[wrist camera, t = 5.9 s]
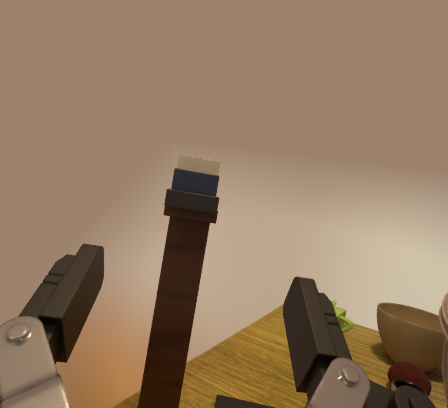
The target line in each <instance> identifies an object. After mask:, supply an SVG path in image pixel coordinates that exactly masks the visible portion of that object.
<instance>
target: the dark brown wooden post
mask: <svg viewBox="0 0 448 408" xmlns="http://www.w3.org/2000/svg"><path fill="white" fill-rule="evenodd" d="M217 214H218V211H217ZM217 214H212V213H206V212H200V211H194V210H188V209H182V208H176V207H170V206H165V209H164V215H166V216H170V220H169V225H168V232H167V237H166V243H165V249H164V256H163V262H162V267H161V273H160V279H159V285H158V291H157V297H156V303H155V309H154V315H153V320H152V326H151V333H150V338H149V344H148V350H147V356H146V362H145V369H144V374H143V380H142V386H141V392H140V398H139V403H138V406H137V408H178V407H179V401H180V395H181V390H182V384H183V378H184V372H185V366H186V360H187V354H188V349H189V343H190V337H191V331H192V325H193V319H194V313H195V307H196V302H197V296H198V290H199V284H200V278H201V272H202V266H203V260H204V255H205V249H206V243H207V236H208V231H209V225H210V223H216V219H217Z"/></svg>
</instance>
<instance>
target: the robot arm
mask: <svg viewBox="0 0 448 408" xmlns="http://www.w3.org/2000/svg"><path fill="white" fill-rule="evenodd" d="M103 278H104V248H103V247H102V246H96V245H89V244H83V245H82V246H81V247H80V249H79V251H78V252H77V254H76V255H75V256H74V255H68V254H67V255H65V256H64V257H63V258H61V259H60V260H58V261H57V262H55V264H54V266H53V267H52V268H51V270H50V271H49V274H48V275H47V276H46V277H45V279H44V280H43V283H41V284H40V286H39V287H38V289H37V290H36V292H35V293H34V295H33V296H32V298H31V299H30V300H29V302H28V303H27V305H26V306H25V308H24V309H23V311H22V312H21V314H20V315H19V316H18V317H17V318H14V319H11V320H9V321H7V322H5V323H4V324H2V325H1V326H0V399H1V401H0V408H71V407H70V404H69V401H68V398H67V394H66V391H65V388H64V385H63V382H62V379H61V376H60V375H58V372H57V369H56V366H55V364H56V362H67V361H68V359H69V356H70V354H71V352H72V350H73V348H74V346H75V343H76V341H77V339H78V337H79V335H80V333H81V330H82V328H83V326H84V324H85V322H86V319H87V317H88V315H89V312H90V311H91V309H92V306H93V304H94V302H95V300H96V298H97V295H98V293H99V291H100V289H101V286H102V282H103ZM283 317H284V323H285V328H286V334H287V340H288V345H289V351H290V357H291V363H292V368H293V374H294V380H295V385H296V391H297V392H304V393H307V398H308V402H307V403H306V405H305V407H304V408H436V407H435V405H434V404H433V403H432V401H431V400H430V399H429V398H428V397H427V396H426V395H425V394H424V393H422V392H421V391H419V390H418V389H416V388H414V387H411V386H407V385H403V386H400V387H398V388H397V389H396V390H395V391H393V390H390V389H388V388H386V387H384V386H381V385H379V384H377V383H375V382H373V381H371V380H369V378H368V376H367V374H366V373H365V371H364V370H363V369H362V368H361V367H360V366H359V365H358V364H357V363H355V362H354V361H352V358H351V355H350V353H349V350H348V347H347V344H346V341H345V338H344V335H343V332H342V330H341V327H340V326H339V321H338V318H337V317H336V312H335V310H334V307H333V304H332V302H331V301H330V300H329V299H328V297H327V296H326V295H325V294H324V293H318V290H317V287H316V284H315V281H314V280H313V279H309V278H301V277H295V278H294V279H293V282H292V284H291V287H290V289H289V292H288V294H287V296H286V299H285V301H284V306H283Z"/></svg>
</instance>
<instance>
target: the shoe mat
mask: <svg viewBox="0 0 448 408" xmlns="http://www.w3.org/2000/svg"><path fill="white" fill-rule="evenodd" d="M215 408H275V407H270V406H266V405H262V404H257V403H253V402H248V401H244V400H239V399H235V398H230V397H226V396H222V395H217V397H216V403H215Z"/></svg>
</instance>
